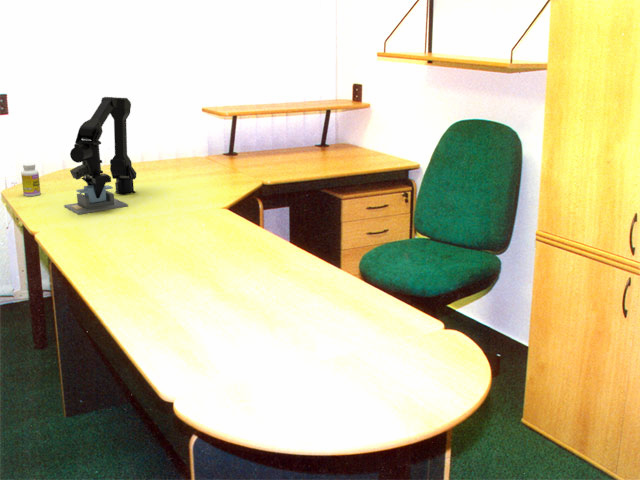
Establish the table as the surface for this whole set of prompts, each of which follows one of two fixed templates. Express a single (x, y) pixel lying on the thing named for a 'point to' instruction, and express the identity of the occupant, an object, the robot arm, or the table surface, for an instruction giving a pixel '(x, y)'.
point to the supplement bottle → (30, 180)
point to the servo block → (90, 193)
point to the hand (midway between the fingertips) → (95, 197)
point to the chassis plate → (94, 204)
